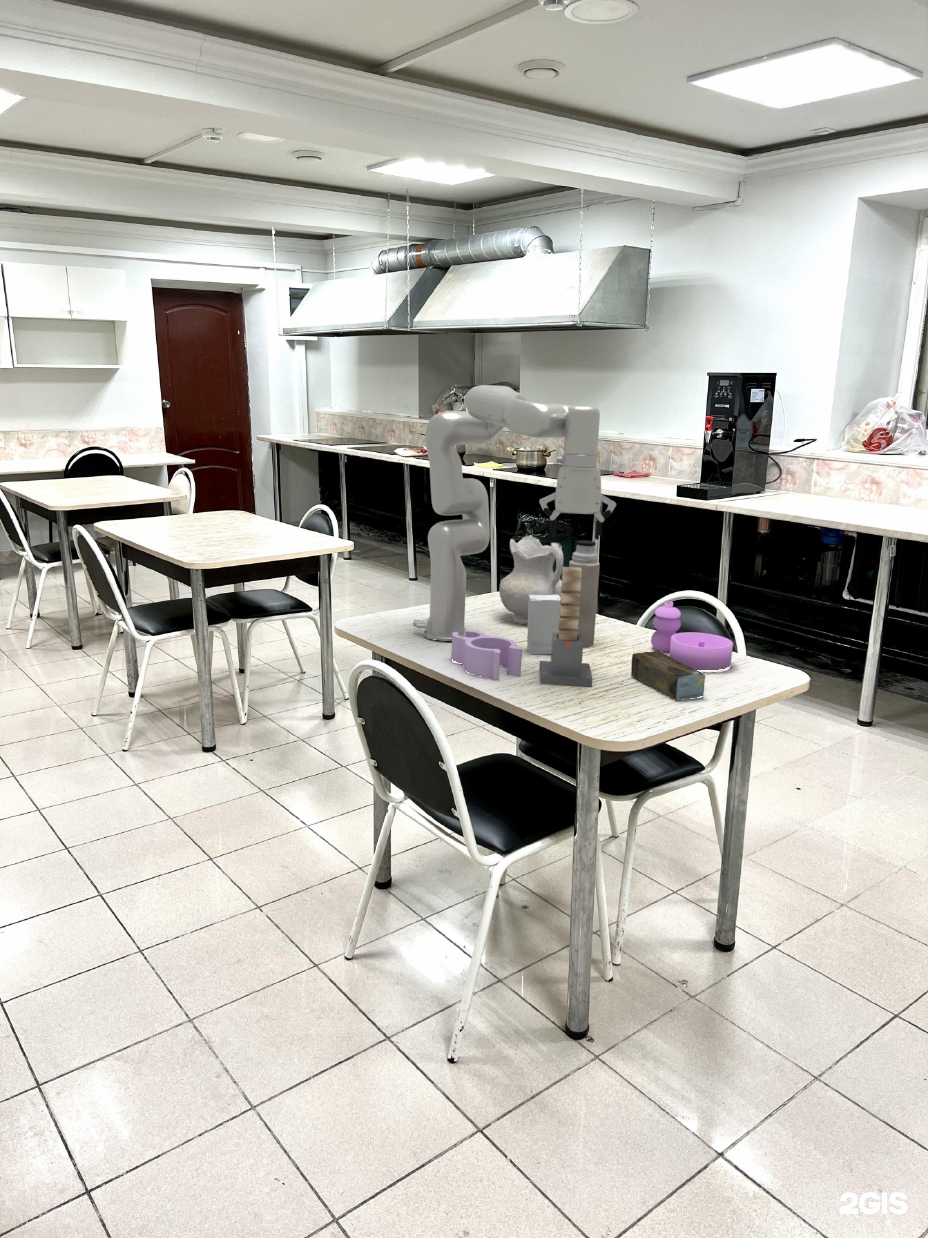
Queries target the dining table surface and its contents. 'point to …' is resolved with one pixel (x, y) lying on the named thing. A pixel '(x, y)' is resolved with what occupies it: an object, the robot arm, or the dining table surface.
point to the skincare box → (542, 622)
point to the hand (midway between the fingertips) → (575, 537)
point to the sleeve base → (566, 664)
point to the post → (569, 603)
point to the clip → (486, 654)
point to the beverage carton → (667, 675)
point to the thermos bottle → (587, 588)
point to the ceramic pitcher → (531, 575)
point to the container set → (689, 642)
